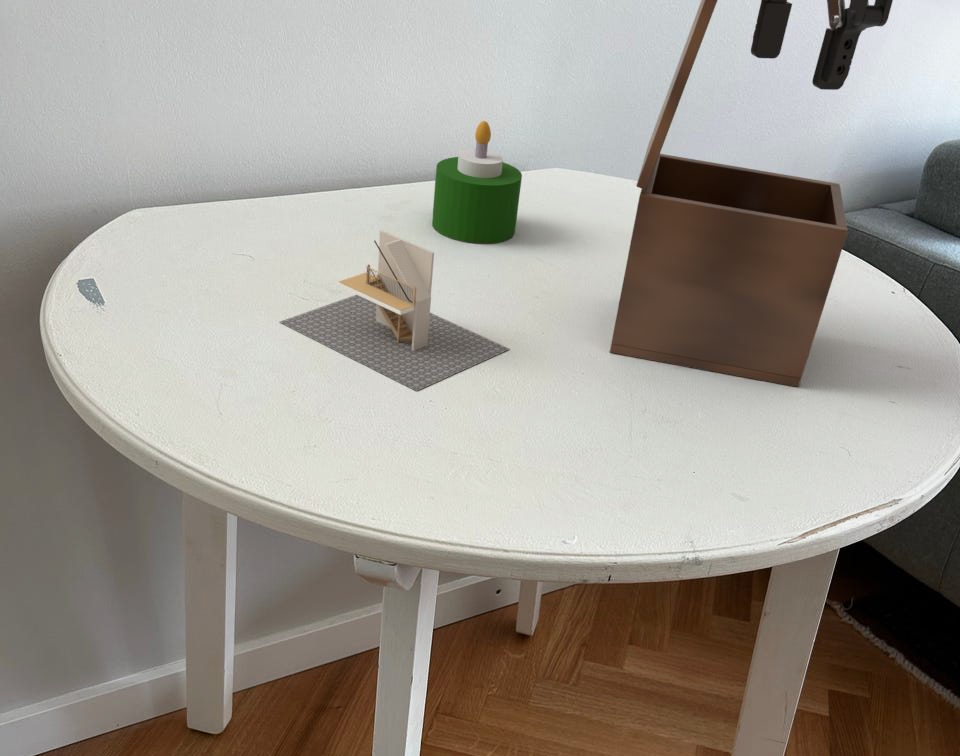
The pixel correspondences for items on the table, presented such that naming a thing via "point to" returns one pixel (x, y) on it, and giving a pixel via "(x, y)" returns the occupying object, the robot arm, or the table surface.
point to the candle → (476, 194)
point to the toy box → (729, 269)
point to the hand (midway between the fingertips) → (793, 72)
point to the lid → (676, 90)
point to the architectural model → (396, 321)
